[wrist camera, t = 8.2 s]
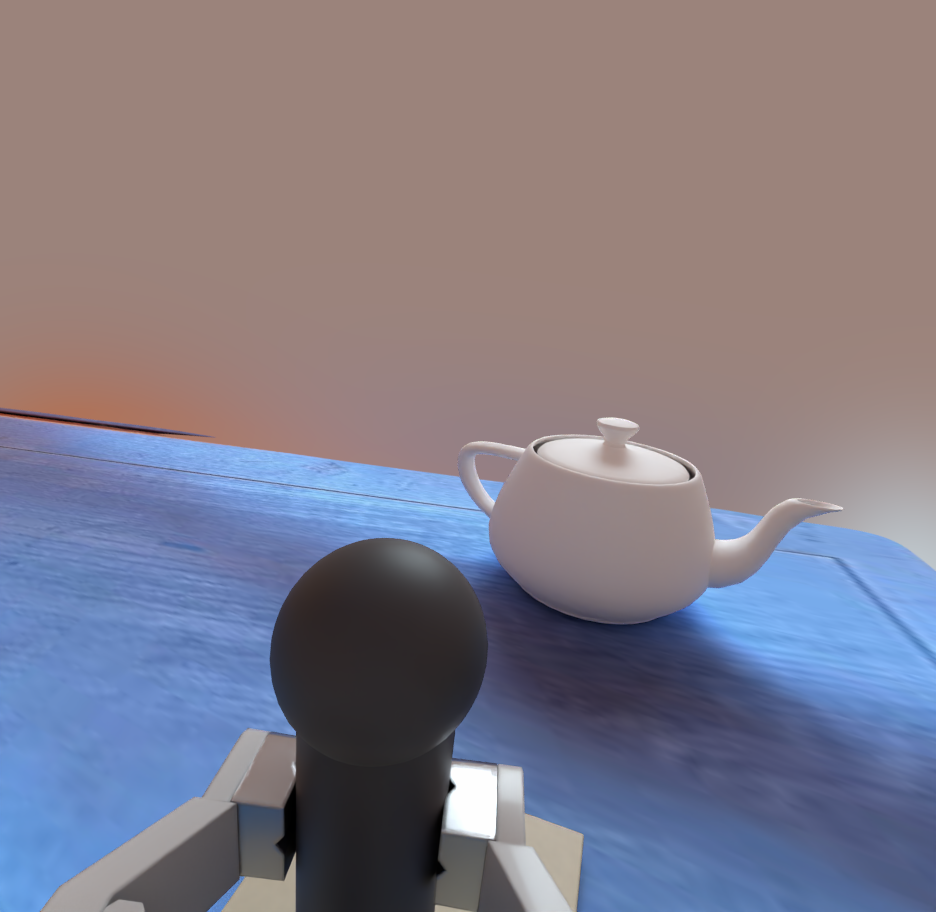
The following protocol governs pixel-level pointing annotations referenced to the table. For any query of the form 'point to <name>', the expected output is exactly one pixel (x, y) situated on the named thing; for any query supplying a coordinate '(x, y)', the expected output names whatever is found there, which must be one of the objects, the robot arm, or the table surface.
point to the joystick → (380, 731)
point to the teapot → (616, 525)
